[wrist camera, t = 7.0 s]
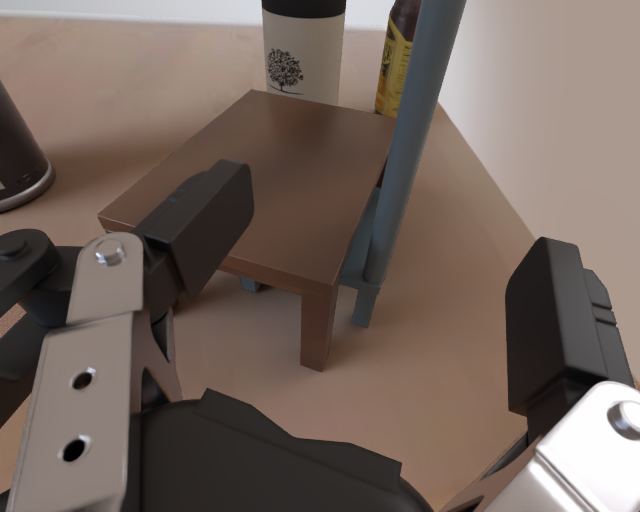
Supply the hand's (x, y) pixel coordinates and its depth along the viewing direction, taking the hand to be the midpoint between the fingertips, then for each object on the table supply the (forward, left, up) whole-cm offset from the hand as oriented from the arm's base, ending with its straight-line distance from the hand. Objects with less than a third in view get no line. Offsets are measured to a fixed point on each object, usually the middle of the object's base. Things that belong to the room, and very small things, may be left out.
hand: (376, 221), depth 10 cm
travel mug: (-14, +30, -15) cm, 36 cm away
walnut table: (-8, +11, -15) cm, 20 cm away
